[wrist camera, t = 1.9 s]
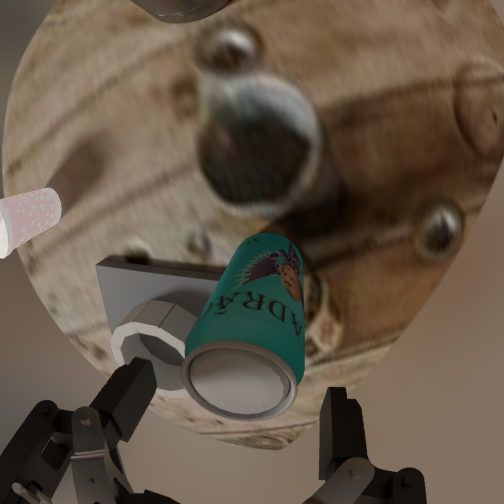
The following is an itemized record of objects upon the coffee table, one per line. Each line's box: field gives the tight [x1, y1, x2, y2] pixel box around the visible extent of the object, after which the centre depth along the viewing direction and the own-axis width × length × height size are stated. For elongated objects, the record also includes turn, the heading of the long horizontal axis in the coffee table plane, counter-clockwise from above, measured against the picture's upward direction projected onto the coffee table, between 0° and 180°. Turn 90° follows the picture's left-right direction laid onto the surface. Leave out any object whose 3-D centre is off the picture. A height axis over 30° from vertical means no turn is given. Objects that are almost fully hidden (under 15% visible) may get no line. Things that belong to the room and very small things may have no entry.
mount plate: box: [96, 260, 223, 399], centre depth 27 cm, size 16×16×6 cm
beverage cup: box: [0, 188, 62, 258], centre depth 21 cm, size 6×6×14 cm
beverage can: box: [180, 232, 305, 422], centre depth 18 cm, size 6×6×15 cm
